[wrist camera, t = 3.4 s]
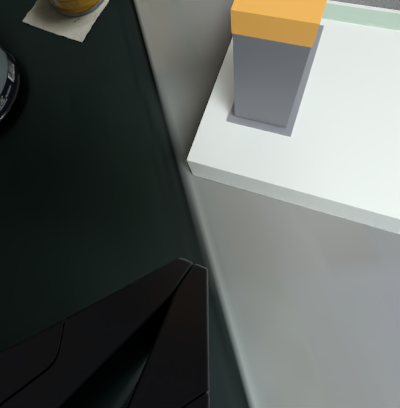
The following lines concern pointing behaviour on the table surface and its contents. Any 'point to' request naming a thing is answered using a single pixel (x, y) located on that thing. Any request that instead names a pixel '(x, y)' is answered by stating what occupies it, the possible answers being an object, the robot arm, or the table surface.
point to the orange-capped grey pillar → (271, 54)
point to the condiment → (66, 16)
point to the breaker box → (320, 125)
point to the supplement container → (10, 89)
